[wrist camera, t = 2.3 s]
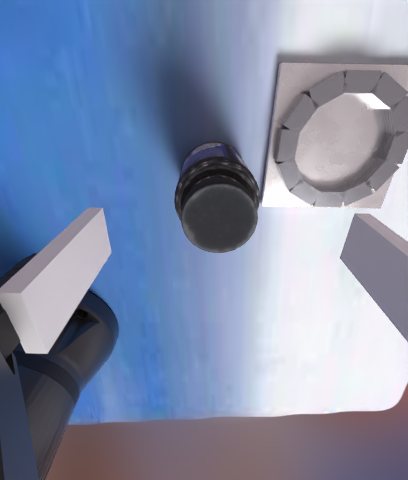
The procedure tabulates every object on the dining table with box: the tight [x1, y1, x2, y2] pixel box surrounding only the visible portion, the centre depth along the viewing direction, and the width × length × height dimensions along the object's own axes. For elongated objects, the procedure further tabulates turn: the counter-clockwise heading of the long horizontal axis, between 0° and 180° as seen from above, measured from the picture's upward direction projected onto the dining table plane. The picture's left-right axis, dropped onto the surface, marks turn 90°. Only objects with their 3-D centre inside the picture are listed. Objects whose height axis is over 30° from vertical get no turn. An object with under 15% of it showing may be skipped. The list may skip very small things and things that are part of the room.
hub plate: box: [261, 63, 408, 208], centre depth 23 cm, size 12×12×2 cm
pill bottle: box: [175, 142, 260, 253], centre depth 20 cm, size 6×6×11 cm
